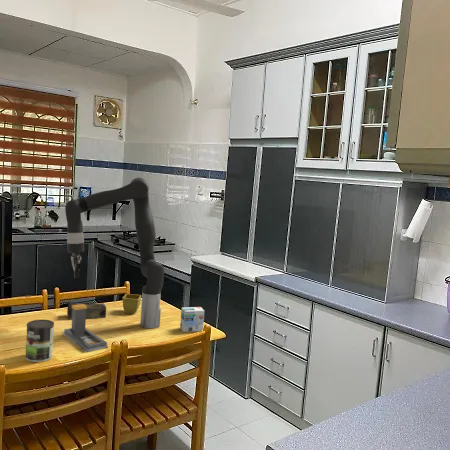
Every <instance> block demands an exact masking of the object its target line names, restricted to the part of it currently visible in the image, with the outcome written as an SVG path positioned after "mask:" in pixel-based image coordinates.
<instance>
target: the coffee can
mask: <svg viewBox="0 0 450 450" xmlns="http://www.w3.org/2000/svg"><path fill="white" fill-rule="evenodd" d="M54 327H55V322H54V321H53V320H49V319H34V320H30V321H28V322H27V323H26V344H25V360H26V361H27V362H31V363H41V362H47V361H49V360H51V359H52V358H53V356H54V355H53V351H54V350H53V347H54Z"/></svg>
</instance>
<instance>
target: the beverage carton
mask: <svg viewBox="0 0 450 450" xmlns="http://www.w3.org/2000/svg"><path fill="white" fill-rule="evenodd" d="M77 304H78V303H68V304H67V308H66V309H67V311H66V312H67V313H66V314H67V319H68V320H72V305H77ZM84 304H85V305H86V306H87V309H86V319H88V320H89V319H103V318H106V316H107V307H106V306H107V305H106V303H104V302H101V303H99V302H98V303H96V302H95V303H84Z"/></svg>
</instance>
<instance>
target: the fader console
mask: <svg viewBox="0 0 450 450" xmlns="http://www.w3.org/2000/svg"><path fill="white" fill-rule="evenodd" d="M71 331H72V327H71V328H69V327H68V328H64V332H62V335H63V336H64V337H65V338H67V339H68V340H70V341H71V343H73V344H75V345H76V346H77V347H79V348H80V349H81V350H82V351H84V352H85V353H88V352H93V351H98V350H103V349H107V348H109V345H108V342H107V341H106V340H104V339H102V338H101V337H100V336H98V335H97V334H96V333H94V332H93V331H91V330H89V329H88V328H86V327H85V334H80V335H76V334H74V333H73V332H71Z"/></svg>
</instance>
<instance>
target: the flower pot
mask: <svg viewBox="0 0 450 450" xmlns="http://www.w3.org/2000/svg"><path fill="white" fill-rule="evenodd" d="M141 302H142V295H141V294H131V293H125V295H124V296H122V307H123V308H122V309H123V310H124V312H125V314H134V315H136V313H137V311H138V309H139V308H140V305H141Z"/></svg>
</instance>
